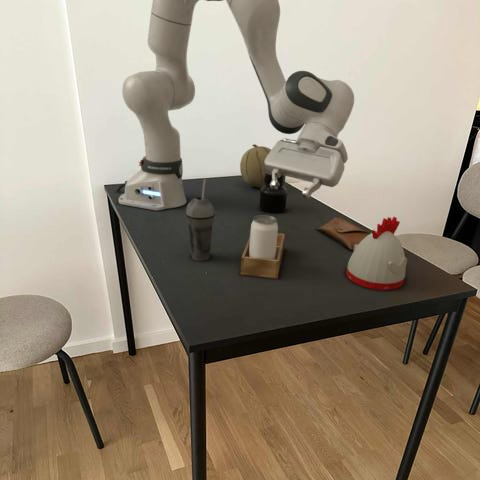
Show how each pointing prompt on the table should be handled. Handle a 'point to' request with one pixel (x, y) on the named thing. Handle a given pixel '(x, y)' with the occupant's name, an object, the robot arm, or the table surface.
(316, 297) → the table surface
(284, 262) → the table surface
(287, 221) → the table surface
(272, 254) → the can
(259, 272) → the organizer
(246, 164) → the cantaloupe
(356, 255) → the kitchen timer
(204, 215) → the beverage cup
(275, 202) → the ink bottle
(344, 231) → the sunglasses case
